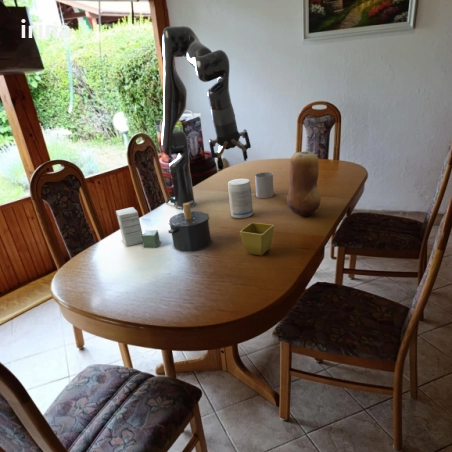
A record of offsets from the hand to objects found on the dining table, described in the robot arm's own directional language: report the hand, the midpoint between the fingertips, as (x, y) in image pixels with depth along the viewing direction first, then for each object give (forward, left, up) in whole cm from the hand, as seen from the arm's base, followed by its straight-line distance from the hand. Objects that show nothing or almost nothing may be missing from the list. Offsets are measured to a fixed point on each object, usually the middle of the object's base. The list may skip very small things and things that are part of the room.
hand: (233, 163), depth 146 cm
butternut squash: (+15, +25, -26) cm, 39 cm away
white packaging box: (-32, -28, -26) cm, 50 cm away
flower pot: (+19, -14, -26) cm, 35 cm away
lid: (-8, -19, -16) cm, 26 cm away
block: (-22, -27, -26) cm, 44 cm away
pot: (-8, -19, -26) cm, 33 cm away
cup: (-15, +41, -26) cm, 51 cm away
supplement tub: (-9, +14, -26) cm, 31 cm away
